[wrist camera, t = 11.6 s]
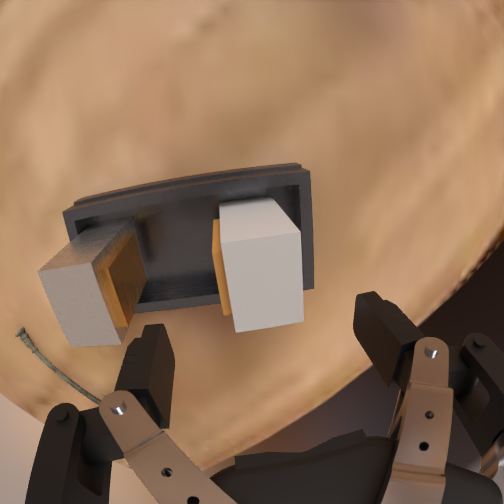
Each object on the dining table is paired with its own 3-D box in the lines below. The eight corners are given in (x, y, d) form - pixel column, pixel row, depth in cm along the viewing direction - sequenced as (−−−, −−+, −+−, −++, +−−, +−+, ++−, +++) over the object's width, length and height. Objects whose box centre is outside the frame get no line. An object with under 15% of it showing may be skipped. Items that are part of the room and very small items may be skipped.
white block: (270, 195, 20) (300, 231, 13) (276, 260, 22) (303, 321, 15) (212, 203, 20) (209, 244, 13) (222, 267, 22) (226, 334, 15)
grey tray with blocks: (110, 296, 24) (72, 370, 15) (81, 198, 20) (14, 239, 11) (302, 270, 25) (343, 340, 16) (295, 162, 21) (348, 184, 13)
